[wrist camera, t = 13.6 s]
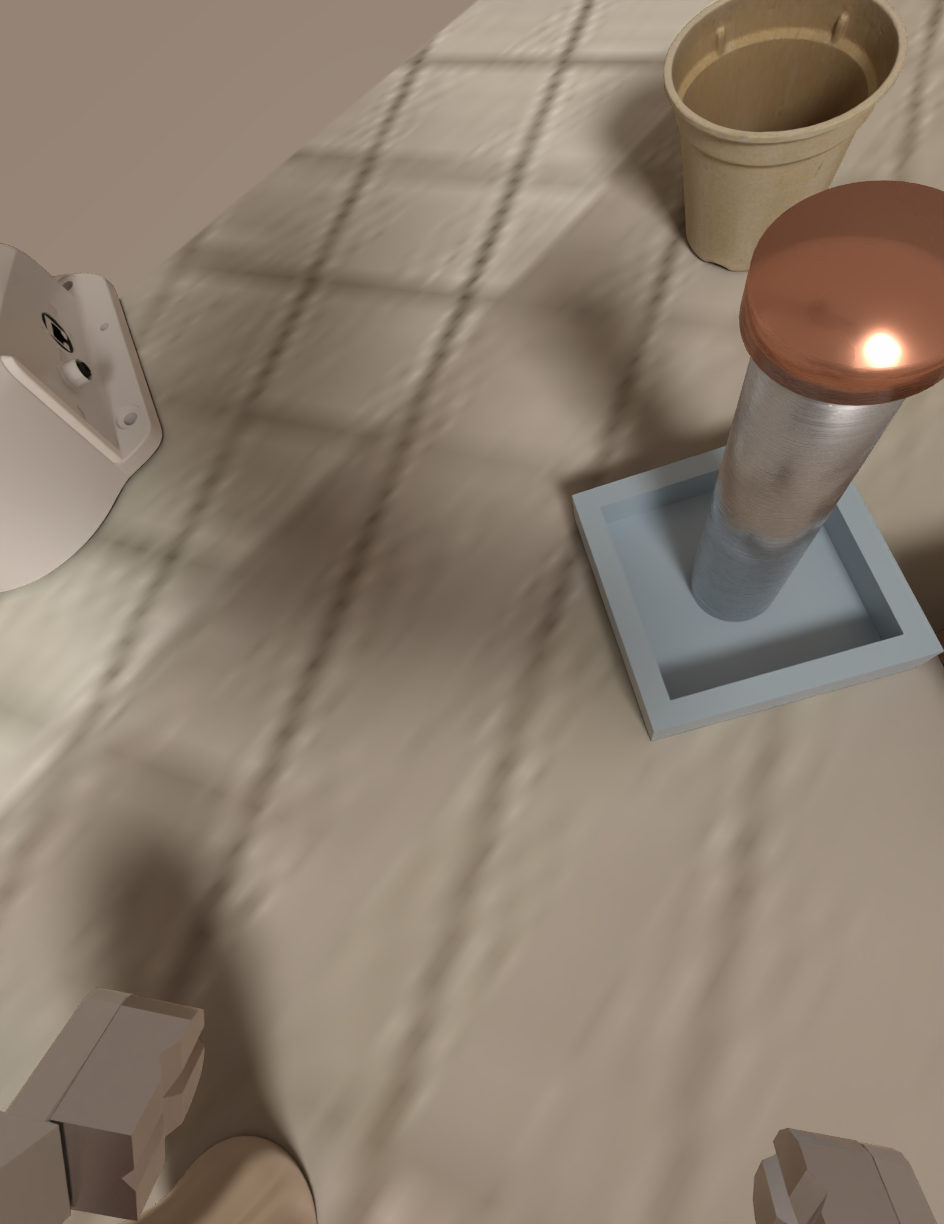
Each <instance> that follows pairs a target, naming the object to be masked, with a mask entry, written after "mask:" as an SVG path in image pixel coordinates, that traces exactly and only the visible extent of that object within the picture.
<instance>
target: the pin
mask: <svg viewBox="0 0 944 1224" xmlns="http://www.w3.org/2000/svg"><path fill="white" fill-rule="evenodd" d="M739 325H740V332H741V336H742V340H743V342H744V345H745V347H746V350H747V351H748V353H749V355H750V356H751V357H750V361H749V364H748V368H747V372H746V375H745V379H744V383H743V386H742V390H741V393H740V397H739V401H738V404H737V408H736V411H735V415H734V419H733V422H732V426H731V430H730V433H729V437H728V440H727V444H726V448H725V451H724V455H723V458H722V462H721V466H720V469H719V473H718V477H717V480H716V484H715V487H714V491H713V495H712V498H711V502H710V505H709V509H708V513H707V516H706V520H705V524H704V527H703V531H702V534H701V538H700V542H699V545H698V549H697V552H696V556H695V560H694V563H693V567H692V571H691V574H690V590H691V593H692V596H693V598H694V600H695V602H696V603H697V604H698V606H699V607H700V608H701V609H702V610H703V611H704V612H706V613H707V614H709V615H710V616H712V617H714V618H717V619H719V620H723V621H728V622H743V621H748V620H751V619H754V618H756V617H758V616H759V615H761V614H762V613H764V612H765V611H766V610H767V609H768V608H769V607H770V605H771V604H772V602H773V601H774V599H775V598H776V596H777V595H778V593H779V592H780V590H781V589H782V587H783V585H784V584H785V582H786V581H787V579H788V578H789V576H790V575H791V573H792V572H793V570H794V569H795V567H796V566H797V564H798V563H799V561H800V559H801V558H802V556H803V555H804V553H805V552H806V550H807V549H808V547H809V546H810V544H811V543H812V541H813V540H814V538H815V536H816V535H817V533H818V532H819V530H820V529H821V527H822V526H823V524H824V523H825V521H826V520H827V518H828V517H829V515H830V514H831V512H832V510H833V509H834V507H835V506H836V504H837V503H838V501H839V500H840V498H841V497H842V495H843V494H844V492H845V491H846V489H847V488H848V486H849V484H850V483H851V481H852V480H853V478H854V477H855V475H856V474H857V472H858V471H859V469H860V468H861V466H862V465H863V463H864V462H865V460H866V458H867V457H868V455H869V454H870V452H871V451H872V449H873V448H874V446H875V445H876V443H877V442H878V440H879V439H880V437H881V435H882V434H883V432H884V431H885V429H886V428H887V426H888V425H889V423H890V422H891V420H892V419H893V417H894V416H895V414H896V413H897V411H898V409H899V408H900V406H901V405H902V403H903V402H904V400H905V399H906V398H907V397H910V396H912V395H915V394H918V393H920V392H922V391H924V390H926V389H928V388H929V387H931V386H933V385H935V384H936V383H938V382H939V381H940V380H942V379H943V378H944V191H941V190H938V189H935V188H932V187H928V186H924V185H920V184H915V183H909V182H902V181H865V182H857V183H851V184H846V185H841V186H837V187H834V188H831V189H827V190H824V191H822V192H819V193H817V194H814V195H812V196H809V197H808V198H806V199H804V200H802V201H800V202H798V203H797V204H795V205H794V206H792V207H791V208H789V209H788V210H786V211H785V212H784V213H783V214H781V215H780V216H779V217H778V218H777V219H776V220H775V221H774V222H773V223H772V224H771V225H770V226H769V227H768V228H767V229H766V231H765V232H764V234H763V235H762V237H761V238H760V240H759V241H758V244H757V246H756V248H755V250H754V252H753V256H752V259H751V262H750V267H749V271H748V275H747V280H746V284H745V288H744V293H743V297H742V301H741V306H740V314H739Z"/></svg>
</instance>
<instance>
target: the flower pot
mask: <svg viewBox="0 0 944 1224" xmlns="http://www.w3.org/2000/svg"><path fill="white" fill-rule="evenodd" d="M907 51H908V40H907V35H906V27H905V26H904V24H903V21H902V19H901V17H900V16H899V14H898V12H896V11H895V9H894V8H893V7H892V6H891V5H890V4H889V3H888V2H887V1H886V0H719V1H717V2H715V3H713V4H712V5H710V6H708V7H707V8H705V9H704V10H703V11H701V12H700V13H699V14H697V15H696V16H695V17H694V18H693V19H692V20H691V21H690V22H689V23H688V24H686V26H685V27H684V28H683V29H682V30H681V31H680V33H679V34H678V35H677V37H676V38H675V40H674V41H673V43H672V44H671V46H670V48H669V50H668V53H667V56H666V59H665V65H664V87H665V91H666V94H667V97H668V99H669V101H670V103H671V105H672V106H673V112H674V118H675V121H676V124H677V126H678V128H679V130H680V138H681V152H682V167H683V183H684V200H685V218H686V235H687V240H688V242H689V245H690V246H691V248H692V250H693V251H694V252H695V254H696V255H697V256H698V257H699V258H701V259H702V260H703V261H705V262H714V263H717V264H719V265H721V266H723V267H725V268H727V269H728V270H730V271H749V267H750V262H751V259H752V256H753V252H754V250H755V248H756V246H757V244H758V241H759V240H760V238H761V237H762V235H763V234H764V232H765V231H766V229H767V228H768V227H769V226H770V225H771V224H772V223H773V222H774V221H775V220H776V219H777V218H778V217H779V216H780V215H781V214H783V213H784V212H785V211H786V210H788V209H789V208H791V207H792V206H794V205H795V204H797V203H798V202H800V201H802V200H804V199H806V198H808V197H809V196H812V195H814V194H817V193H819V192H822V191H824V190H827V189H828V188H829V186H830V184H831V182H832V180H833V178H834V176H835V174H836V172H837V170H838V168H839V166H840V163H841V161H842V159H843V157H844V155H845V153H846V151H847V149H848V147H849V145H850V143H851V141H852V139H853V137H854V135H855V133H856V131H857V129H858V128H859V127H860V126H861V125H862V124H863V123H864V122H865V121H866V119H867V118H868V117H869V115H870V114H871V112H872V110H873V109H874V107H875V105H876V103H878V102H879V101H880V100H881V99H882V98H883V97H884V95H885V94H886V93H887V92H888V91H889V90H890V88H891V87H892V86H893V84H894V83H895V81H896V79H897V77H898V76H899V74H900V72H901V69H902V67H903V65H904V62H905V59H906V55H907Z"/></svg>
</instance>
